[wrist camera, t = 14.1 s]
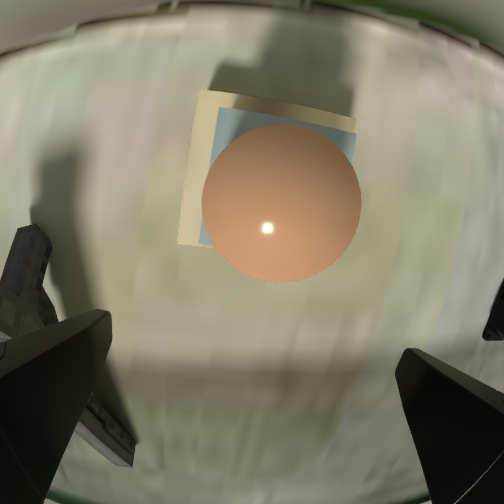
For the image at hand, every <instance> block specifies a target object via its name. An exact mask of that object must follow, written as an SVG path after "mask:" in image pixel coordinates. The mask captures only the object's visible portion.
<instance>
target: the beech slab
mask: <svg viewBox="0 0 504 504" xmlns="http://www.w3.org/2000/svg"><path fill="white" fill-rule="evenodd" d="M219 107H223V108H230V109H237V110H244V111H250V112H257V113H263V114H268V115H274V116H280V117H285V118H290V119H295V120H300V121H305V122H309V123H314V124H318V125H323V126H327V127H331V128H335V129H339V130H343V131H347V132H351V133H354V127H355V120H356V119H354V118H351V117H347V116H343V115H339V114H336V113H332V112H328V111H323V110H319V109H315V108H310V107H306V106H301V105H297V104H292V103H287V102H282V101H276V100H271V99H265V98H260V97H253V96H247V95H240V94H233V93H226V92H218V91H210V90H200V89H199V95H198V100H197V105H196V111H195V116H194V122H193V128H192V134H191V140H190V147H189V153H188V160H187V166H186V173H185V181H184V188H183V195H182V203H181V212H180V220H179V229H178V238H177V243H179V244H186V245H192V246H199V247H205V248H212V249H215V247H214V246H212V245H205V244H199V238H200V230H201V222H202V193H203V187H204V183H205V180H206V177H207V175H208V172H209V165H210V159H211V152H212V146H213V140H214V134H215V128H216V122H217V116H218V111H219Z"/></svg>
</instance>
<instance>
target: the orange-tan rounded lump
mask: <svg viewBox="0 0 504 504" xmlns="http://www.w3.org/2000/svg"><path fill="white" fill-rule="evenodd" d="M360 213H361V192H360V187H359V182H358V179H357V176H356V173H355V171H354V169H353V167H352V165H351V163H350V162H349V160H348V159H347V157H346V156H345V154H344V153H343V152H342V151H341V150H340V149H339V147H337V146H336V145H335V144H334V143H333V142H332V141H331V140H329V139H328V138H326V137H325V136H323V135H321V134H319V133H317V132H315V131H313V130H311V129H308V128H305V127H301V126H296V125H288V124H277V125H268V126H264V127H260V128H256V129H254V130H251V131H249V132H247V133H245V134H243V135H241V136H239V137H238V138H236V139H235V140H234V141H232V142H231V143H230V144H229V145H228V146H227V147H226V148H225V149H224V150H223V151H222V152H221V153H220V154H219V156H218V157H217V158H216V159H215V161H214V163H213V164H212V166H211V168H210V170H209V172H208V175H207V177H206V180H205V183H204V187H203V193H202V215H203V222H204V225H205V228H206V232H207V234H208V236H209V238H210V240H211V242H212V244H213V245H214V247H215V249H216V250H217V251H218V253H219V254H220V255H221V256H222V257H223V258H224V259H225V260H226V261H227V262H228V263H229V264H230V265H231V266H233V267H234V268H236V269H237V270H238V271H240V272H242V273H244V274H246V275H248V276H250V277H253V278H256V279H259V280H263V281H268V282H293V281H298V280H302V279H306V278H308V277H311V276H313V275H316V274H318V273H319V272H321V271H323V270H325V269H326V268H327V267H329V266H330V265H332V264H333V263H334V262H335V261H336V260H337V259H338V258H339V257H340V256H341V255H342V254H343V252H344V251H345V250H346V248H347V247H348V245H349V244H350V242H351V241H352V238H353V236H354V234H355V232H356V229H357V226H358V223H359V218H360Z"/></svg>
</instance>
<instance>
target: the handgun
mask: <svg viewBox="0 0 504 504" xmlns="http://www.w3.org/2000/svg"><path fill="white" fill-rule="evenodd" d="M51 249H52V245H51V242H50V241H49V239H48V238H47V237H46V236H45V235H44V234H43V232H42V231H41V230H40V229H39V228H38V226H37V225H36V224H33V225H29V226H25V227H21V228H18V229H17V232H16V235H15V238H14V240H13V243H12V246H11V249H10V252H9V255H8V258H7V261H6V264H5V267H4V270H3V274H2V277H1V280H0V342H3V341H6V342H7V340H9V339H12V338H15V337H17V336H20V335H23V334H26V333H29V332H32V331H35V330H38V329H41V328H43V327H46V326H49V325H52V324H55V323H58V318H57V315H56V311H55V308H54V306H53V304H52V302H51V301H50V299H49V297H48V295H47V293H46V292H45V290H44V288H43V286H42V284H43V280H44V276H45V272H46V268H47V264H48V260H49V257H50V253H51ZM74 431H75V432H76V433H77V434H78V435H79V436H80V437H81V438H83V439H84V440H85V441H86V442H87V443H88V444H90V445H91V446H92V447H93V448H94V449H96V450H97V451H98V452H99V453H101V454H102V455H103V456H104V457H106V458H107V459H108V460H109V461H111V462H112V463H113V464H115V465H116V466H123V467H133V460H134V452H135V445H136V443H135V442H134V440H133V439H132V438H131V437H130V436H129V435H128V434H127V433H126V432H125V431H124V430H123V428H122V427H121V426H120V425H119V424H118V423H117V422H116V421H115V420H114V419H113V418H112V417H111V416H110V415H109V413H108V412H107V411H106V410H105V409H104V408H103V407H102V406H101V405H100V403H99V402H98V401H97V400H96V399H95V398H94V396H93V395H92V394H91V396H90V398H89V400H88V402H87V404H86V406H85V408H84V411H83V413H82V415H81V417H80V419H79V421H78V423H77V425H76V428H75V430H74Z"/></svg>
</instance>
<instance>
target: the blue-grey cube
mask: <svg viewBox="0 0 504 504" xmlns="http://www.w3.org/2000/svg"><path fill="white" fill-rule="evenodd" d="M277 124H288V125H296V126H301V127H305V128H308V129H311V130H313V131H315V132H317V133H319V134H321V135H323V136H325V137H326V138H328V139H329V140H331V141H332V142H333V143H334V144H335V145H336V146H337V147H339V149H340V150H341V151H342V152H343V153H344V154H345V156H346V157H347V159H348V160H349V162H350V163H351V162H352V157H353V151H354V145H355V140H356V134H355V133H351V132H347V131H343V130H339V129H335V128H331V127H327V126H323V125H318V124H314V123H309V122H305V121H300V120H295V119H290V118H285V117H280V116H274V115H268V114H263V113H257V112H250V111H244V110H237V109H230V108H223V107H219V111H218V116H217V122H216V128H215V134H214V140H213V146H212V152H211V159H210V165H209V170H210V168H211V166H212V164H213V163H214V161H215V159H216V158H217V157H218V156H219V154H220V153H221V152H222V151H223V150H224V149H225V148H226V147H227V146H228V145H229V144H230V143H231V142H232V141H234V140H235V139H236V138H238V137H239V136H241V135H243V134H245V133H247V132H249V131H251V130H254V129H256V128H260V127H264V126H268V125H277ZM199 244H205V245H212V246H214V245H213V244H212V242H211V240H210V238H209V236H208V234H207V232H206V228H205V225H204V222H203V215H202V222H201V230H200V238H199Z"/></svg>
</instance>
